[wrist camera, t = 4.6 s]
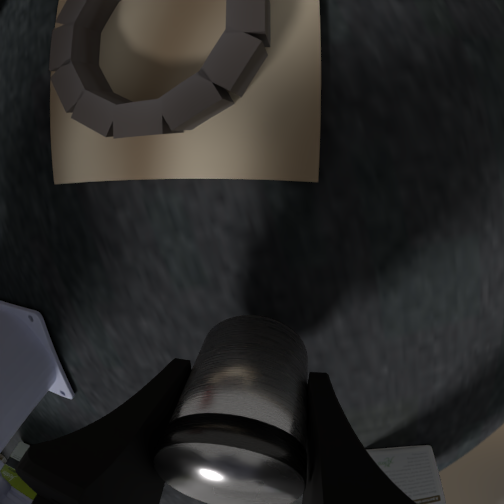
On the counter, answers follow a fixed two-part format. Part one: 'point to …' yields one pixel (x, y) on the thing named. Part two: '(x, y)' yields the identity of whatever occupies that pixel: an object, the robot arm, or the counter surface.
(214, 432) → the silver capped cylinder
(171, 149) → the mount plate
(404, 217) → the counter surface
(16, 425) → the robot arm
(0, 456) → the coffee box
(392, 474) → the syrup box
